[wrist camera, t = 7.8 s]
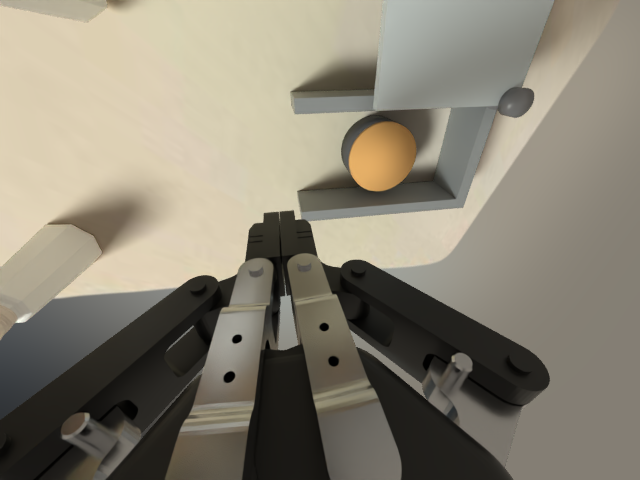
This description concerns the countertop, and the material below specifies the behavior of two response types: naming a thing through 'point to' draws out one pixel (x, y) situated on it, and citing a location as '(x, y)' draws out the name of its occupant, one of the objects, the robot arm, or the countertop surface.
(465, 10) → the cover
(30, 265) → the pepper shaker
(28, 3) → the cable organizer
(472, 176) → the grey u-shaped frame
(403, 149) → the puck
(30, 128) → the countertop surface
